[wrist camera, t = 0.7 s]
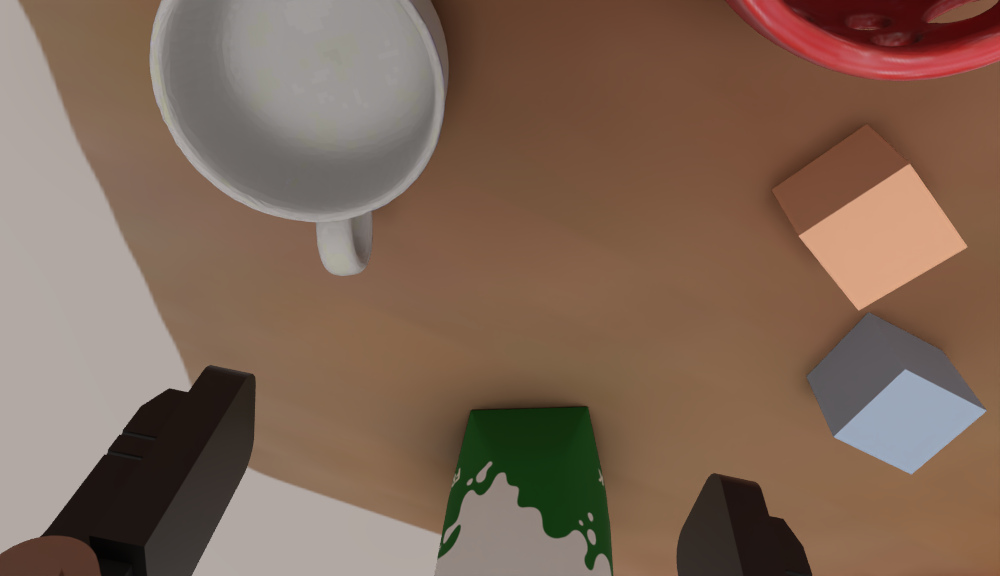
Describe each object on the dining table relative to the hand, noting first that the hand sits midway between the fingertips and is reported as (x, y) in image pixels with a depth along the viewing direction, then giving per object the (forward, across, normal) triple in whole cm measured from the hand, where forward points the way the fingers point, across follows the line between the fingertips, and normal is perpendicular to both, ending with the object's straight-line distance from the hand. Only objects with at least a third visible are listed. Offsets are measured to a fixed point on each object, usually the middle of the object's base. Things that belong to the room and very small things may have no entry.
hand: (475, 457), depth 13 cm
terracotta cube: (+25, -16, +2) cm, 29 cm away
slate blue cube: (+25, -22, +11) cm, 35 cm away
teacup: (+25, +8, +2) cm, 26 cm away
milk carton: (+24, -5, +23) cm, 34 cm away
